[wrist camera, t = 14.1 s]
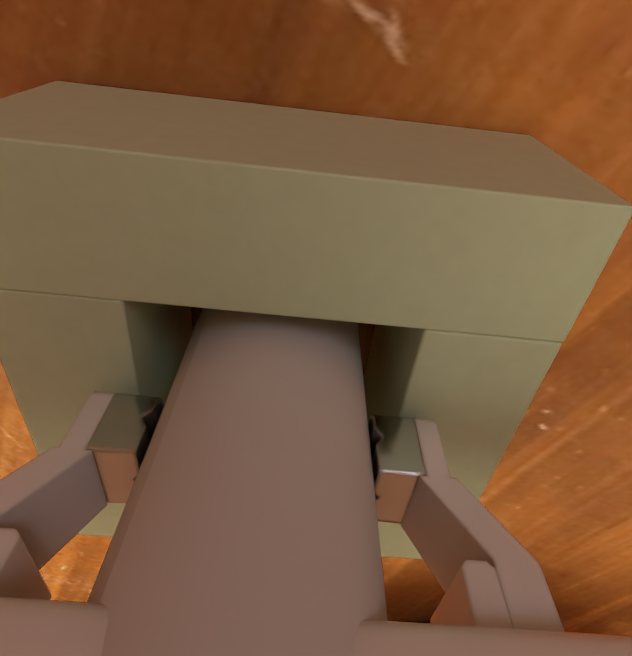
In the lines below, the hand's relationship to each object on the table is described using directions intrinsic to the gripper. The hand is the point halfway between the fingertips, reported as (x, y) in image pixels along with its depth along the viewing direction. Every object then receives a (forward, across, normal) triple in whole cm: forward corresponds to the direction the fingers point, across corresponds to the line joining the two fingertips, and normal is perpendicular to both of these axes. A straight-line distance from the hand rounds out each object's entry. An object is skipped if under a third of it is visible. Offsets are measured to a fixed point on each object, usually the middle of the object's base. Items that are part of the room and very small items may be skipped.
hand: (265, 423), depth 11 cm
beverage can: (+5, 0, 0) cm, 5 cm away
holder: (+5, 0, 0) cm, 5 cm away
